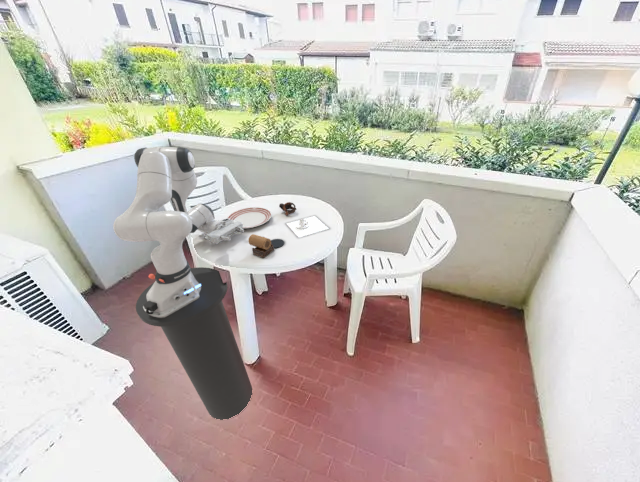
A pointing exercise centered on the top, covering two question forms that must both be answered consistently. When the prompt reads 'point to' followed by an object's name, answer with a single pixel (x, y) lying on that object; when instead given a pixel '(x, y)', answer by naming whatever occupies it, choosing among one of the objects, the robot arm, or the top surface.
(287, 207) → the brown openwork ring figurine
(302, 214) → the top surface
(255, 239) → the paper roll
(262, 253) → the roll stand
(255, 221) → the dinner plate
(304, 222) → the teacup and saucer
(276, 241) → the coaster
